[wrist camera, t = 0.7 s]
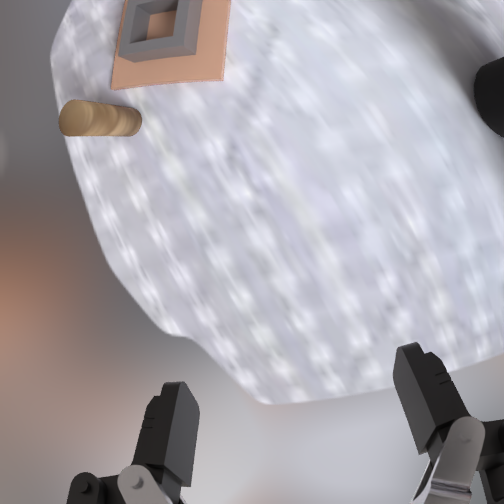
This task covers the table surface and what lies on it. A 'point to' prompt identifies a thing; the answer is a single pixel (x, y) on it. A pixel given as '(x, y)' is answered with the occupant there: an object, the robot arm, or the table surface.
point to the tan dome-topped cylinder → (98, 119)
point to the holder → (170, 42)
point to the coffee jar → (491, 94)
